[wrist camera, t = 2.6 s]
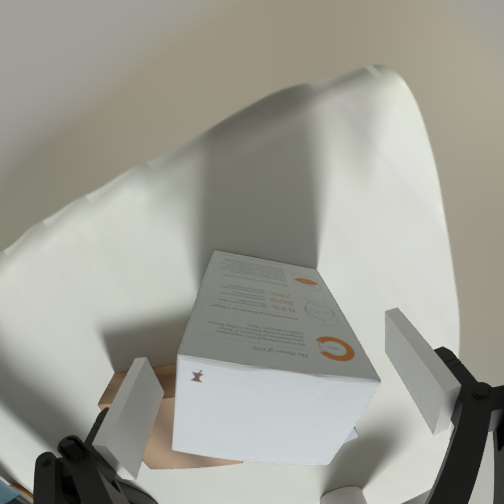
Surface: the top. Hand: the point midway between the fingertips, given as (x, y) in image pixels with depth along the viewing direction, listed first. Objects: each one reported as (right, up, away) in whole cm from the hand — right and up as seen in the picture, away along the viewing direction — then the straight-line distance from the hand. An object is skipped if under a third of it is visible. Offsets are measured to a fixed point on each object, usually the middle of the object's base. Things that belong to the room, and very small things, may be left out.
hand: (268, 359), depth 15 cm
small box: (0, +2, +8) cm, 9 cm away
